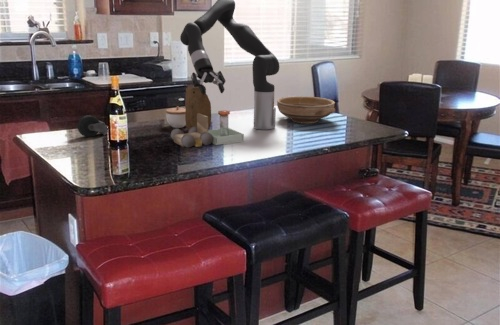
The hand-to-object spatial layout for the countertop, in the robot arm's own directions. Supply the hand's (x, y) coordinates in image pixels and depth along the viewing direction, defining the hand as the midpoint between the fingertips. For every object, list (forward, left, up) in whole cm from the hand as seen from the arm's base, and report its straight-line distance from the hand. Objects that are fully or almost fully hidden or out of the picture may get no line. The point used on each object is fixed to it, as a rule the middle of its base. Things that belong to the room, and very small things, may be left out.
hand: (213, 92), depth 215 cm
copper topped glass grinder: (-1, +7, -18) cm, 19 cm away
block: (+2, -12, -19) cm, 23 cm away
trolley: (+14, +7, -19) cm, 24 cm away
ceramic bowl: (-54, -7, -19) cm, 58 cm away
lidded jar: (+7, -24, -19) cm, 32 cm away
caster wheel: (+45, -23, -19) cm, 54 cm away
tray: (0, +8, -19) cm, 20 cm away
